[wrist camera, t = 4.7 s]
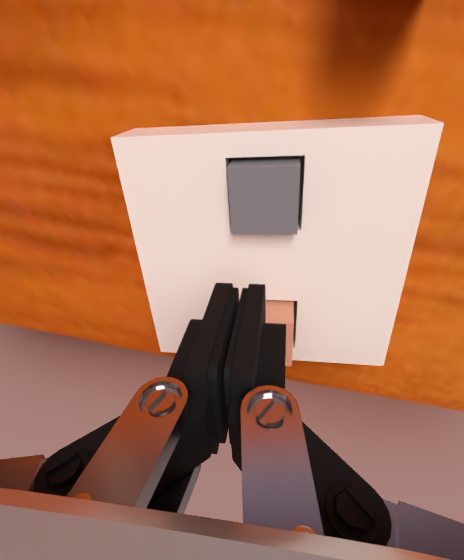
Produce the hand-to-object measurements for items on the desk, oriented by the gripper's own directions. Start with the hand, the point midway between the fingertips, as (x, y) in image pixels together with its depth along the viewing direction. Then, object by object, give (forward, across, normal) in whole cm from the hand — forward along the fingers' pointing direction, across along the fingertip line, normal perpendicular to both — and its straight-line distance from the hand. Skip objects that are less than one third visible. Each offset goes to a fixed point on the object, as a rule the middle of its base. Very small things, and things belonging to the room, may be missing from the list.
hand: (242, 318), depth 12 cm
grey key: (+15, 0, 0) cm, 15 cm away
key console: (+17, 0, +5) cm, 18 cm away
